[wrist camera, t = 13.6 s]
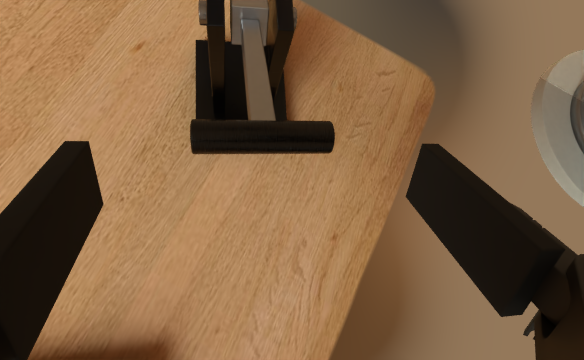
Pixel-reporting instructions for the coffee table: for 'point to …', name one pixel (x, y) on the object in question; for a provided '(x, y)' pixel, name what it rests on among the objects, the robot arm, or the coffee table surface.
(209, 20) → the bracket
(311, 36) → the coffee table surface
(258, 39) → the lever
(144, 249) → the coffee table surface
